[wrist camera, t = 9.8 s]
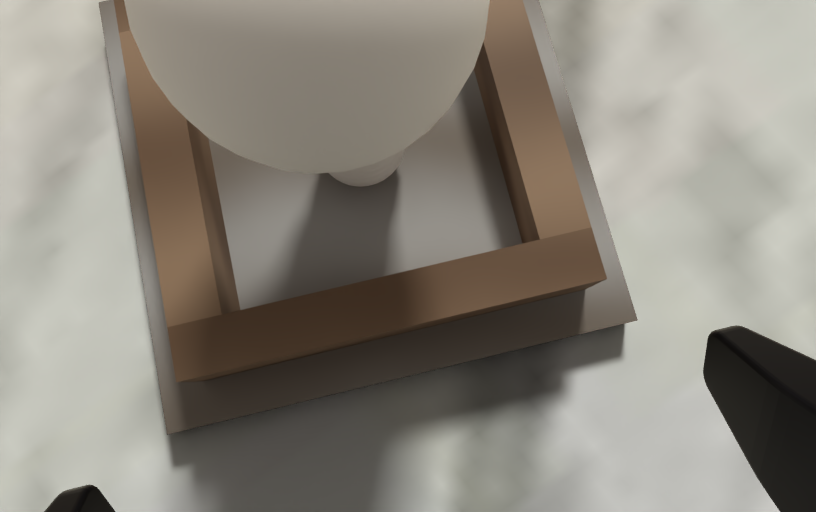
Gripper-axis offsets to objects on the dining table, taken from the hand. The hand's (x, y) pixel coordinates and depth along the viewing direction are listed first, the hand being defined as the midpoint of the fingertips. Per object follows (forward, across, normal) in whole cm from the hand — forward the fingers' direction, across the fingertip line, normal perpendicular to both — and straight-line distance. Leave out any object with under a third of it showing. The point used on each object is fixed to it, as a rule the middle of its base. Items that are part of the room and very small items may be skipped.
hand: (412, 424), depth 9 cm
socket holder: (+12, 0, +1) cm, 12 cm away
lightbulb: (+11, 0, +1) cm, 11 cm away
